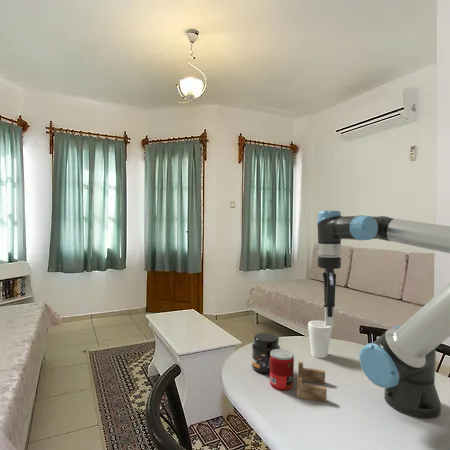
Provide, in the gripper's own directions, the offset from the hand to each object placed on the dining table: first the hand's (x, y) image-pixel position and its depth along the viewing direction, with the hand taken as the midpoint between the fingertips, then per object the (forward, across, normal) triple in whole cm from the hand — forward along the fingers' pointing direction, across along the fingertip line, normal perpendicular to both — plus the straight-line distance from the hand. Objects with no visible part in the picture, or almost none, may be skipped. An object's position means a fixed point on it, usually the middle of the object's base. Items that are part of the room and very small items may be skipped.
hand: (329, 325), depth 111 cm
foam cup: (+20, -26, -1) cm, 33 cm away
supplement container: (+20, -9, -22) cm, 31 cm away
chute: (+21, +3, -6) cm, 22 cm away
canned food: (+21, +2, -16) cm, 26 cm away
